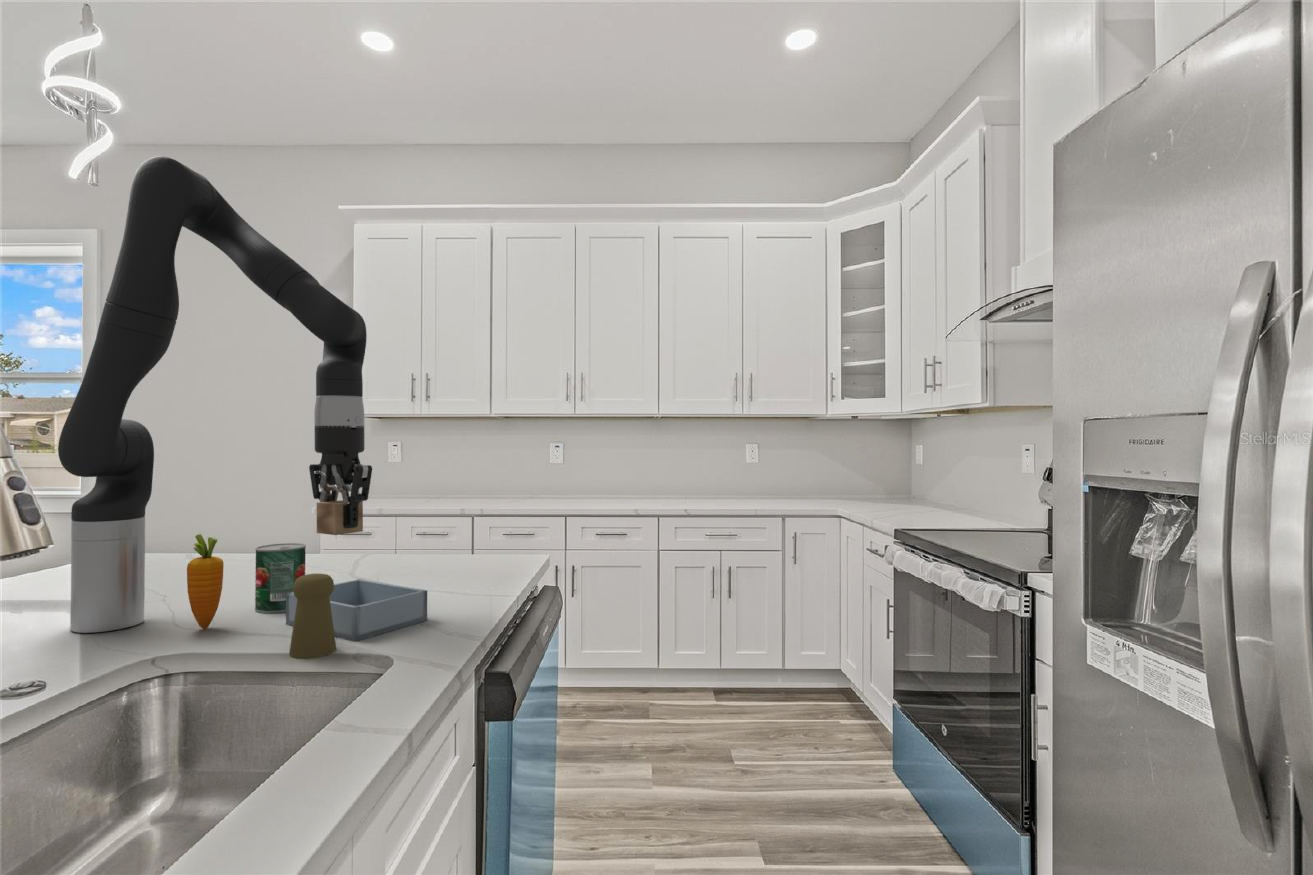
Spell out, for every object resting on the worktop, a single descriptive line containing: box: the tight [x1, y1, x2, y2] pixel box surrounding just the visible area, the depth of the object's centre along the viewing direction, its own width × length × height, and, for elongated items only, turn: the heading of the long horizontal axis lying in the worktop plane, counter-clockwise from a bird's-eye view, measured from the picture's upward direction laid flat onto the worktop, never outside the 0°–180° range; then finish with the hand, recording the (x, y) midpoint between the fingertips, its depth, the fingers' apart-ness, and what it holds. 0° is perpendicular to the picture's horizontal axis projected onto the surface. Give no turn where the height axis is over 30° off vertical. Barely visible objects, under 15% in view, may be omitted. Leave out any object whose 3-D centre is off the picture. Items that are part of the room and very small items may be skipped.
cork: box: [288, 573, 337, 660], centre depth 96 cm, size 6×6×11 cm
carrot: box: [186, 533, 225, 630], centre depth 107 cm, size 5×5×15 cm
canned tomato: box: [254, 542, 307, 614], centre depth 120 cm, size 8×8×11 cm
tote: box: [285, 578, 428, 642], centre depth 111 cm, size 18×14×5 cm
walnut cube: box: [316, 499, 364, 536], centre depth 112 cm, size 5×5×5 cm
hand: (340, 526), depth 112 cm, fingers closed on walnut cube, 5 cm apart
